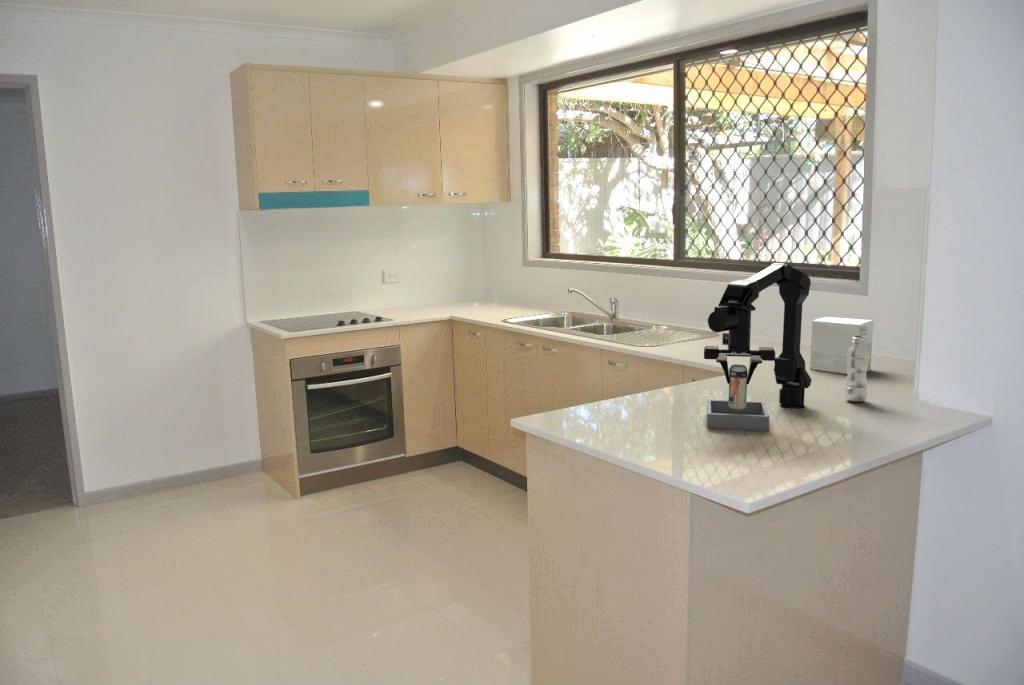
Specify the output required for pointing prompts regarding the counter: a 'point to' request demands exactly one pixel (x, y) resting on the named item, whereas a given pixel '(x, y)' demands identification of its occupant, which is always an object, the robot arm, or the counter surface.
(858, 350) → the plastic bottle
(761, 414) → the box
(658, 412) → the counter surface
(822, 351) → the supplement box
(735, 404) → the beer can
